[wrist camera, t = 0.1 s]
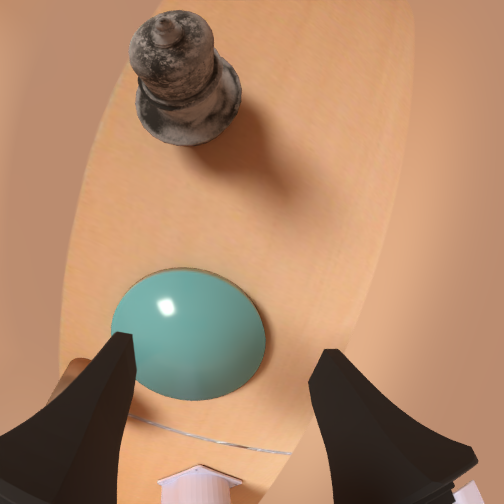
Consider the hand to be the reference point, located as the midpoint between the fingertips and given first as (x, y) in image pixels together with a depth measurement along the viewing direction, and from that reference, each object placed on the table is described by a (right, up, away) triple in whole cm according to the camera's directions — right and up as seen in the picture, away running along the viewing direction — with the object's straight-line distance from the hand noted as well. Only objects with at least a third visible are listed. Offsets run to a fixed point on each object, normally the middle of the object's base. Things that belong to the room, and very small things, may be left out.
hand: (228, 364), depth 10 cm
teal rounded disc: (-4, -3, +11) cm, 12 cm away
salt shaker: (-3, +14, +7) cm, 16 cm away
